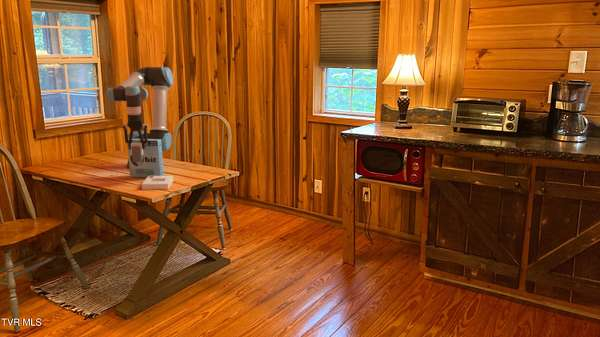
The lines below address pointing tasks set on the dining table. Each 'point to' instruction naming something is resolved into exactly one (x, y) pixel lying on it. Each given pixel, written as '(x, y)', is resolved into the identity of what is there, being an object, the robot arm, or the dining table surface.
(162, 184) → the socket
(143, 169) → the gum box
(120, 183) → the dining table surface
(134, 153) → the plug
